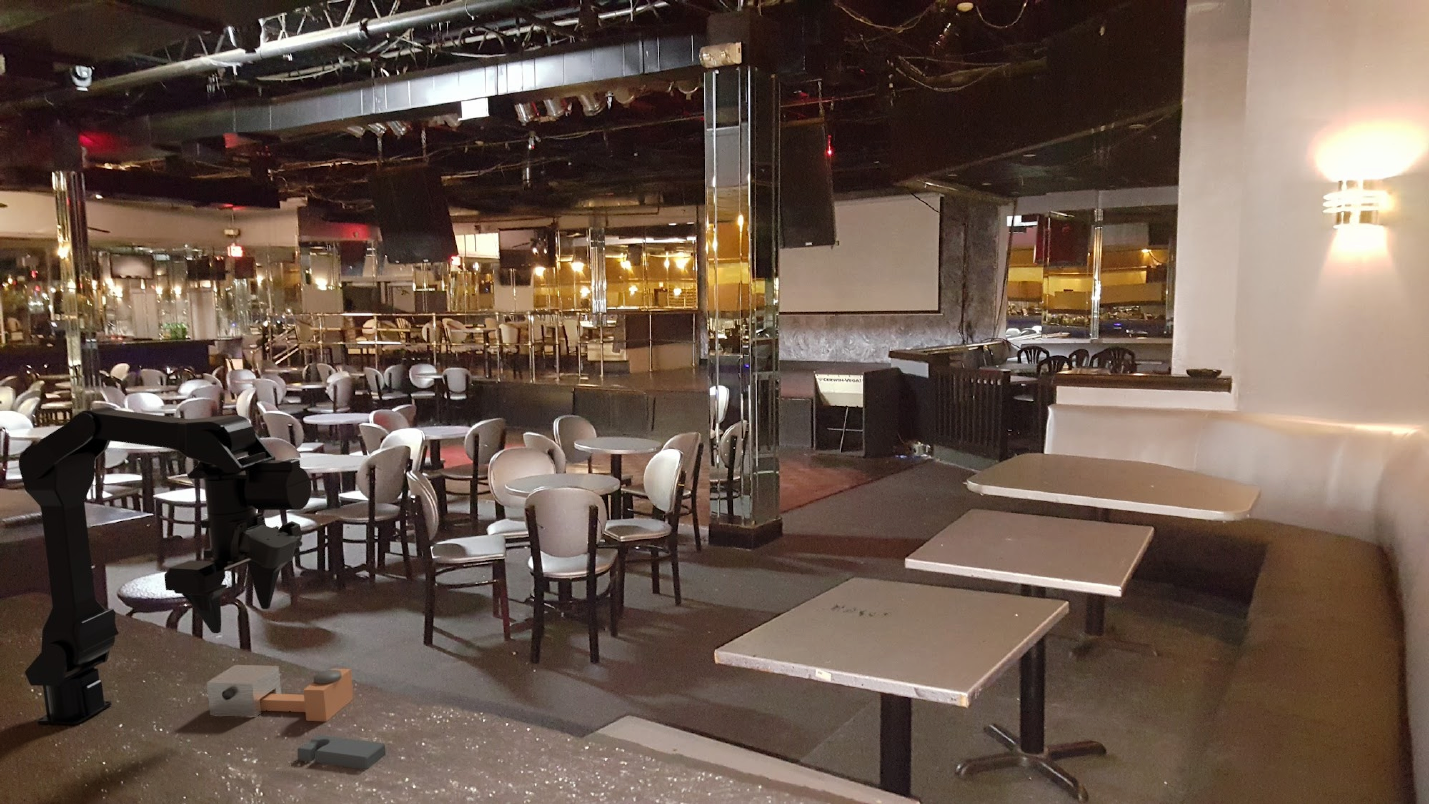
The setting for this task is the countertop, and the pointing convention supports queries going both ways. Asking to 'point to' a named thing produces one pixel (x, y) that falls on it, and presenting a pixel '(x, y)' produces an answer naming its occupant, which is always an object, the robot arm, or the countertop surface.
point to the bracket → (342, 752)
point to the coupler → (315, 696)
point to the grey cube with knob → (242, 689)
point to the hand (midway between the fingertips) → (241, 620)
